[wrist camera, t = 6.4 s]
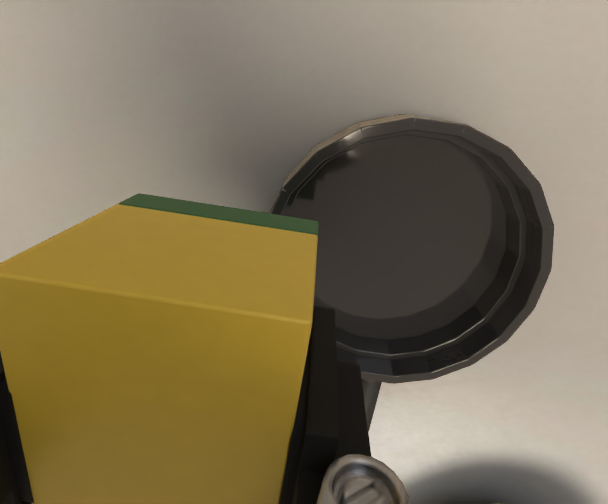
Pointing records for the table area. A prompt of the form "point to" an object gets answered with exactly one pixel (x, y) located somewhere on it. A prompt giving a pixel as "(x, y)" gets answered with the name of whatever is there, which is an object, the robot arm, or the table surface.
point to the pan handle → (370, 397)
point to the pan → (421, 243)
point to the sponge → (159, 353)
